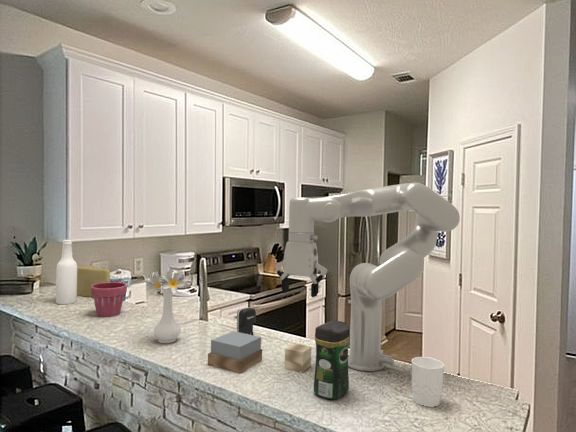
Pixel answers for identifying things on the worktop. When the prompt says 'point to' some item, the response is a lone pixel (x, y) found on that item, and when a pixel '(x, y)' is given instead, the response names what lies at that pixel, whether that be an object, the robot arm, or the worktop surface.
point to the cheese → (90, 279)
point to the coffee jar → (331, 360)
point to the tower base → (234, 362)
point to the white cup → (427, 381)
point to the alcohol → (66, 276)
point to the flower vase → (166, 304)
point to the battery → (246, 320)
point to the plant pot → (108, 298)
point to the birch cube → (297, 357)
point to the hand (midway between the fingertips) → (299, 294)
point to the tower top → (236, 345)
